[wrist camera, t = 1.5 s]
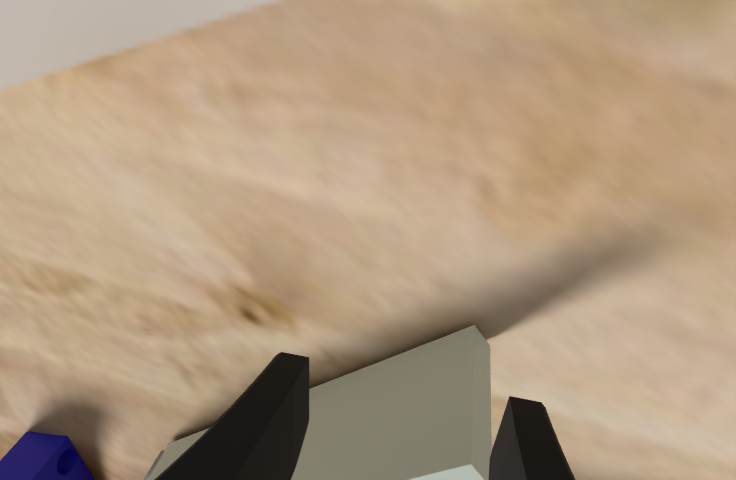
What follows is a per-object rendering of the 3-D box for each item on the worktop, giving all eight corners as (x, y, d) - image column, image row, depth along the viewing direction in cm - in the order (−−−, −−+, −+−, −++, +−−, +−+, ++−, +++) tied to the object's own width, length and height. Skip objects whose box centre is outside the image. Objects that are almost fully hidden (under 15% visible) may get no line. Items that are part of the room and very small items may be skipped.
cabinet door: (474, 324, 19) (470, 464, 14) (489, 345, 20) (491, 488, 15) (159, 447, 28) (89, 558, 23) (174, 459, 29) (109, 571, 24)
